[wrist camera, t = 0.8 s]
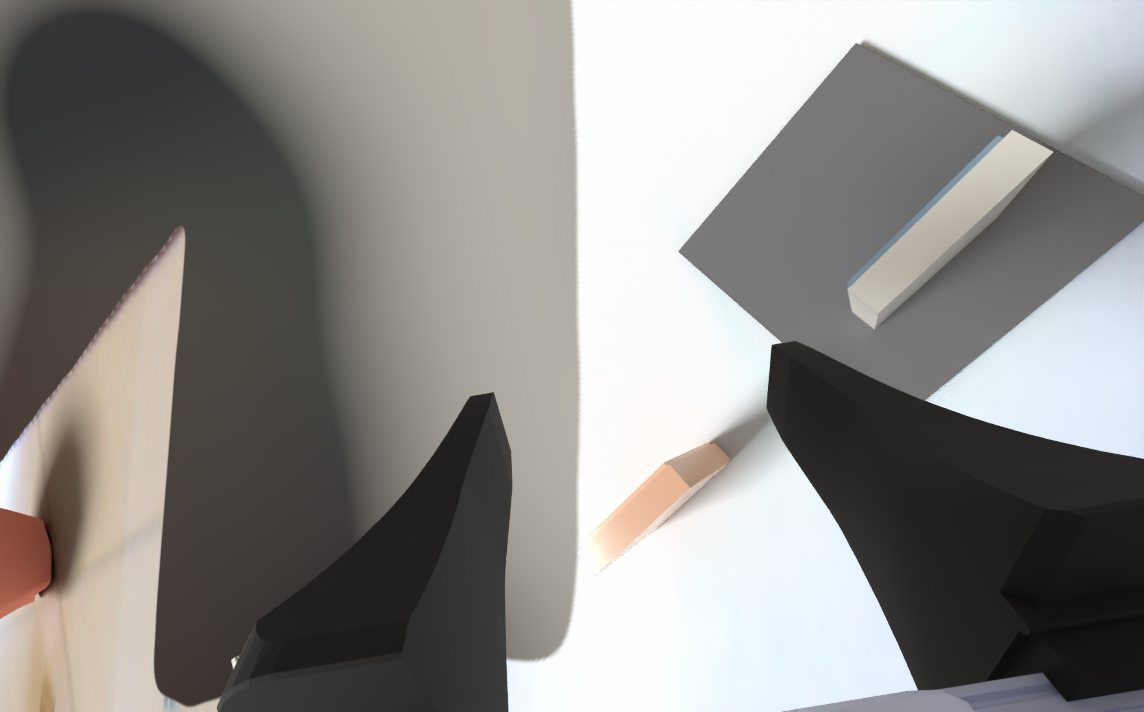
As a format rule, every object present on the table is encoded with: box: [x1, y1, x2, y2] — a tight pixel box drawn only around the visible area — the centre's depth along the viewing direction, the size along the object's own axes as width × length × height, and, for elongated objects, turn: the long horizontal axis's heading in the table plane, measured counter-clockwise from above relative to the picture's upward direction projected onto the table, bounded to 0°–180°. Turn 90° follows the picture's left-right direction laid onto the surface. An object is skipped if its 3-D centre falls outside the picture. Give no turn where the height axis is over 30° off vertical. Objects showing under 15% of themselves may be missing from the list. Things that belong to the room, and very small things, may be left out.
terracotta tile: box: [578, 442, 731, 575], centre depth 23 cm, size 1×6×7 cm, turn 134°
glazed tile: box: [847, 130, 1053, 330], centre depth 18 cm, size 1×6×7 cm, turn 134°
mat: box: [678, 43, 1144, 400], centre depth 22 cm, size 13×12×1 cm
